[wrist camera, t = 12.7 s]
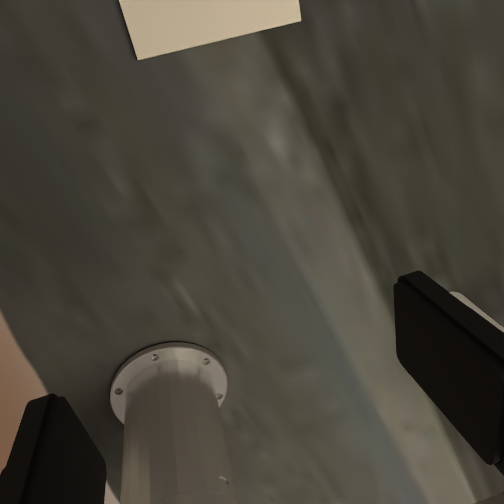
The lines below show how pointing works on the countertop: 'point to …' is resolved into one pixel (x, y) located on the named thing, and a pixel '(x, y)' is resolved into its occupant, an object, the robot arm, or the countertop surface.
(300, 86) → the countertop surface
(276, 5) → the mat
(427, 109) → the countertop surface
